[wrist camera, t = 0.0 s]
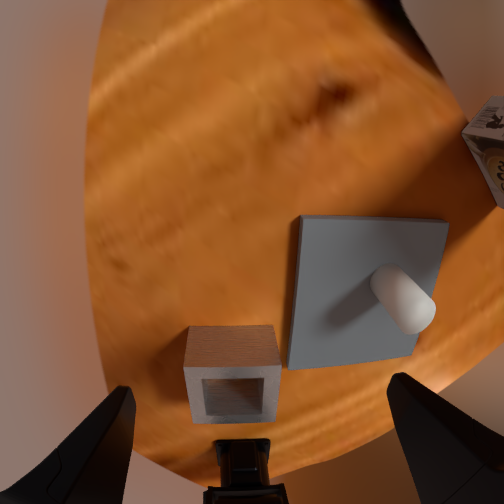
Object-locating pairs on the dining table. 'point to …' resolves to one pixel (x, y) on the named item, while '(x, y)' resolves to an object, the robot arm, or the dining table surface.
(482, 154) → the coffee box
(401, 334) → the duct plate
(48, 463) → the robot arm
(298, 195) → the dining table surface
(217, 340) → the collar
